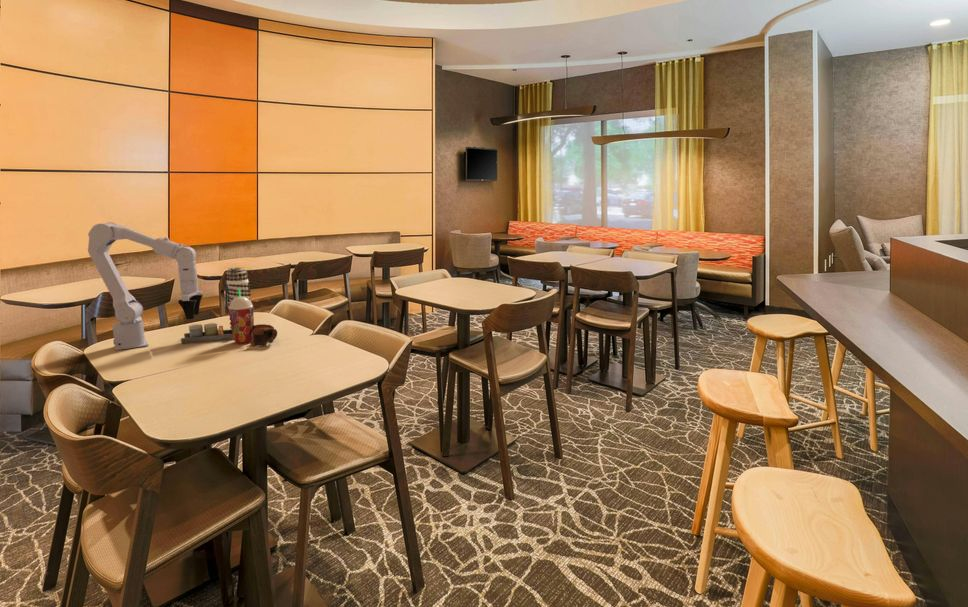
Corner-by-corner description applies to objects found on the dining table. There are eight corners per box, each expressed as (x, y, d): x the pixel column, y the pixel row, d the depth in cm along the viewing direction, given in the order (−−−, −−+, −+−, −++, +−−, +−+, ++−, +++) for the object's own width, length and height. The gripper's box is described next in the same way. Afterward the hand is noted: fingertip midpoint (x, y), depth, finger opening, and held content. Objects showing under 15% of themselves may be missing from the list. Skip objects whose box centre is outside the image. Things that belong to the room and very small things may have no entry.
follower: (218, 339, 199) (217, 329, 198) (220, 335, 204) (219, 325, 204) (222, 339, 199) (221, 329, 199) (223, 335, 205) (222, 325, 204)
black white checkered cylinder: (259, 329, 217) (254, 267, 212) (238, 334, 209) (232, 270, 204) (245, 326, 221) (240, 266, 216) (225, 331, 214) (218, 268, 209)
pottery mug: (242, 347, 192) (244, 325, 195) (262, 352, 200) (263, 331, 203) (267, 342, 188) (269, 319, 190) (287, 347, 196) (288, 326, 199)
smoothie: (261, 340, 200) (256, 287, 196) (249, 346, 192) (244, 291, 188) (239, 339, 201) (234, 287, 197) (227, 345, 193) (221, 291, 189)
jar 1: (191, 342, 196) (189, 327, 195) (189, 339, 200) (188, 325, 199) (204, 340, 199) (203, 326, 198) (202, 337, 202) (201, 323, 201)
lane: (181, 345, 194) (180, 333, 193) (185, 339, 201) (183, 328, 200) (235, 340, 200) (234, 328, 199) (237, 335, 207) (235, 324, 207)
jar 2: (206, 340, 198) (204, 326, 197) (204, 338, 201) (202, 324, 200) (219, 339, 200) (218, 325, 199) (217, 336, 204) (215, 322, 203)
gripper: (195, 282, 189) (200, 320, 191) (205, 276, 202) (209, 311, 205) (173, 283, 187) (178, 321, 189) (184, 277, 200) (188, 313, 203)
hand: (192, 316), depth 197 cm, fingers open, 7 cm apart
